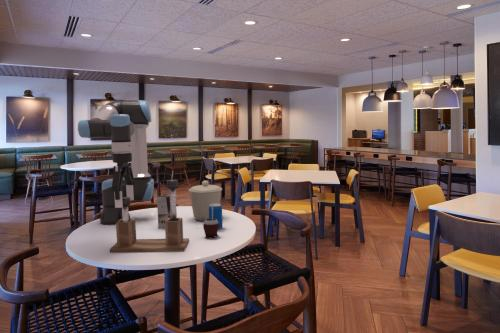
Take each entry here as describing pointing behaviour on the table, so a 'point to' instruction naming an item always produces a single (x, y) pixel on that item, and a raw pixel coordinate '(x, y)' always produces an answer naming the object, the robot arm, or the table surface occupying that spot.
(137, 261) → the table surface
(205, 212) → the canister
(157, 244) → the stand
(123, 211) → the plunger
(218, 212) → the beverage can
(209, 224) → the mate gourd
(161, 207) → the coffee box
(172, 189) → the plunger
